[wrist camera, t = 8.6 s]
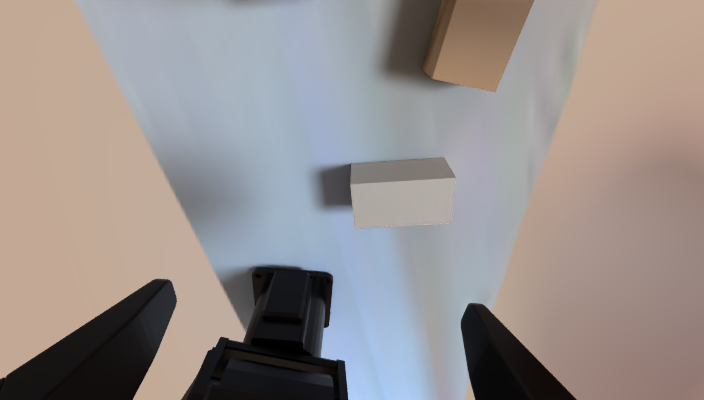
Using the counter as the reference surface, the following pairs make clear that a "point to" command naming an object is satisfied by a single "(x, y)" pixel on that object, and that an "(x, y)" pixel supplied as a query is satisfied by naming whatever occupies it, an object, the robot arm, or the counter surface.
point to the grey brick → (402, 193)
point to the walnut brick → (474, 41)
